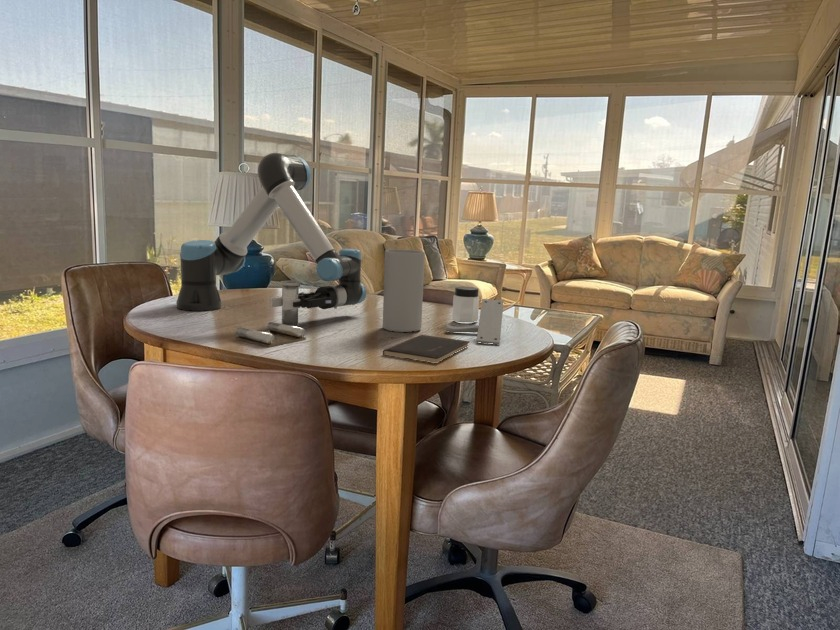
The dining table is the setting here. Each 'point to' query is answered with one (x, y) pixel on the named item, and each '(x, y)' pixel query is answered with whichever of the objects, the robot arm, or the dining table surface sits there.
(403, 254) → the cylinder vase
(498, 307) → the door handle
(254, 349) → the dining table surface
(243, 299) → the dining table surface
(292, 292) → the hinge pin
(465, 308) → the jar
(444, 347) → the hardcover book
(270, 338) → the hinge leaf
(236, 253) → the robot arm
